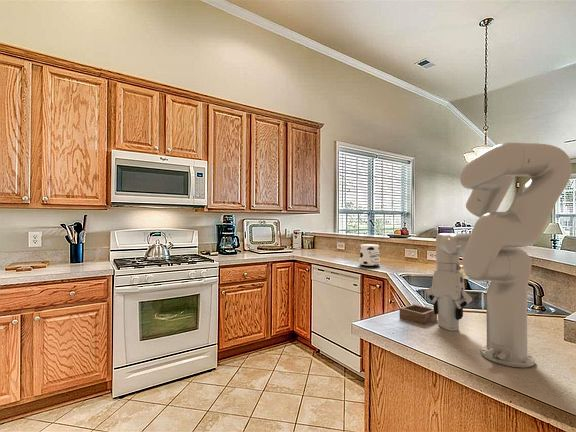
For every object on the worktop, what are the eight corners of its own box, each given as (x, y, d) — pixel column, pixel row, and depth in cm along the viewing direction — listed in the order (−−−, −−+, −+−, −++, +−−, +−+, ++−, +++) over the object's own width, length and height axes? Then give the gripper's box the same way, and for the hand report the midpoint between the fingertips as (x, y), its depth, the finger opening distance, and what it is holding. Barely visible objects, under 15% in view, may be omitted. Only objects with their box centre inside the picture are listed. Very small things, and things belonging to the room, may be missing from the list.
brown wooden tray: (423, 325, 117) (423, 314, 117) (399, 318, 125) (399, 308, 125) (436, 319, 123) (436, 309, 123) (413, 313, 131) (413, 304, 131)
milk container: (378, 268, 253) (378, 246, 253) (357, 267, 260) (357, 245, 260) (381, 265, 269) (381, 244, 269) (361, 264, 276) (361, 243, 276)
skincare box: (459, 330, 111) (459, 296, 111) (448, 331, 110) (448, 296, 111) (447, 324, 117) (447, 292, 117) (436, 325, 117) (436, 292, 117)
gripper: (478, 269, 110) (478, 320, 109) (429, 263, 123) (429, 309, 123) (468, 271, 105) (468, 324, 105) (419, 265, 119) (419, 312, 119)
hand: (447, 316), depth 114 cm, fingers closed on skincare box, 7 cm apart
